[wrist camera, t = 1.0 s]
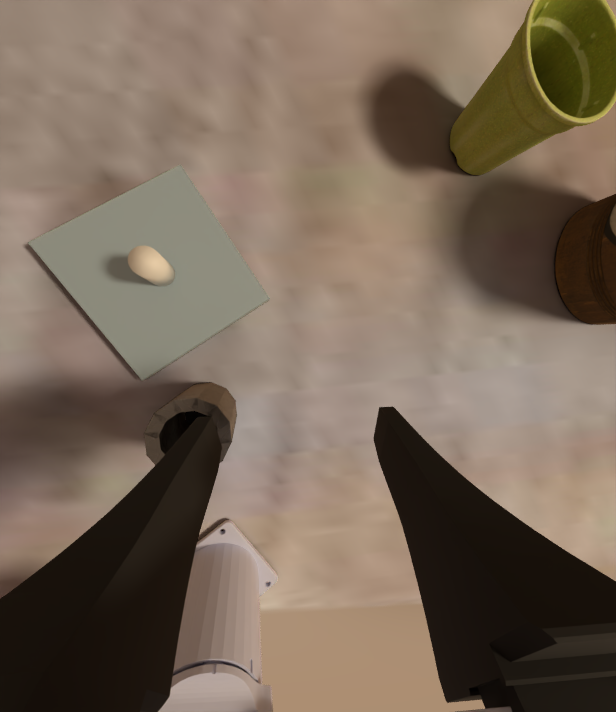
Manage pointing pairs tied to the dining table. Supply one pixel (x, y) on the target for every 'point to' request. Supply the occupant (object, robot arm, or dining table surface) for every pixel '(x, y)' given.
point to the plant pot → (541, 84)
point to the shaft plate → (131, 294)
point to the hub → (173, 423)
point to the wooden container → (589, 263)
